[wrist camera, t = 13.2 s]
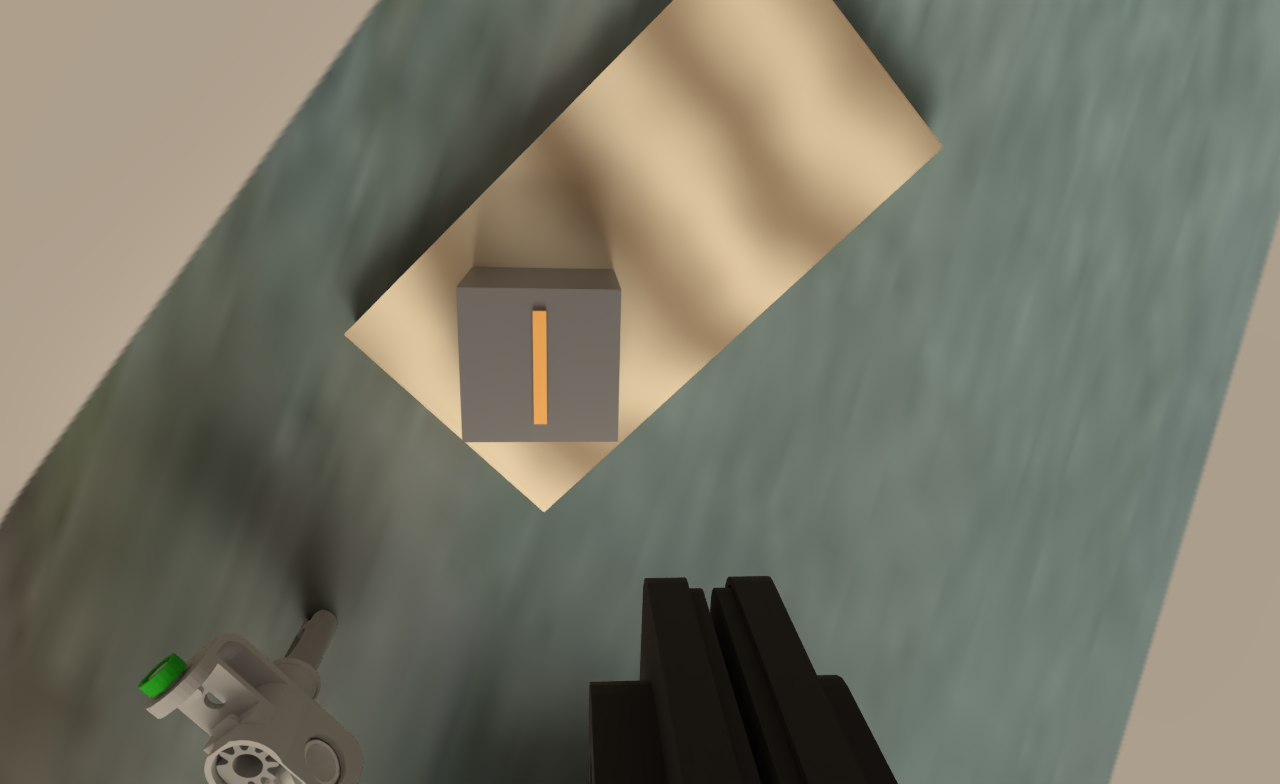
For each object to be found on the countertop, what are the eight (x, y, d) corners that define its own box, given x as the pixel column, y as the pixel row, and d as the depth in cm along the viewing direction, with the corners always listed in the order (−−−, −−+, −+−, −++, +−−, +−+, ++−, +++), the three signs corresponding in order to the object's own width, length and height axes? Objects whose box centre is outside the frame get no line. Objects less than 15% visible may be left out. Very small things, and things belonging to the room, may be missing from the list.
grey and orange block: (471, 266, 33) (455, 288, 28) (613, 269, 34) (621, 290, 29) (476, 401, 35) (461, 444, 30) (611, 401, 36) (618, 443, 31)
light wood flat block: (751, -78, 32) (787, -121, 27) (922, 146, 35) (984, 147, 30) (356, 324, 36) (319, 355, 30) (545, 494, 39) (541, 548, 34)
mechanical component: (270, 536, 38) (172, 665, 29) (412, 672, 41) (365, 830, 32) (225, 570, 39) (113, 709, 29) (369, 703, 42) (310, 868, 32)
